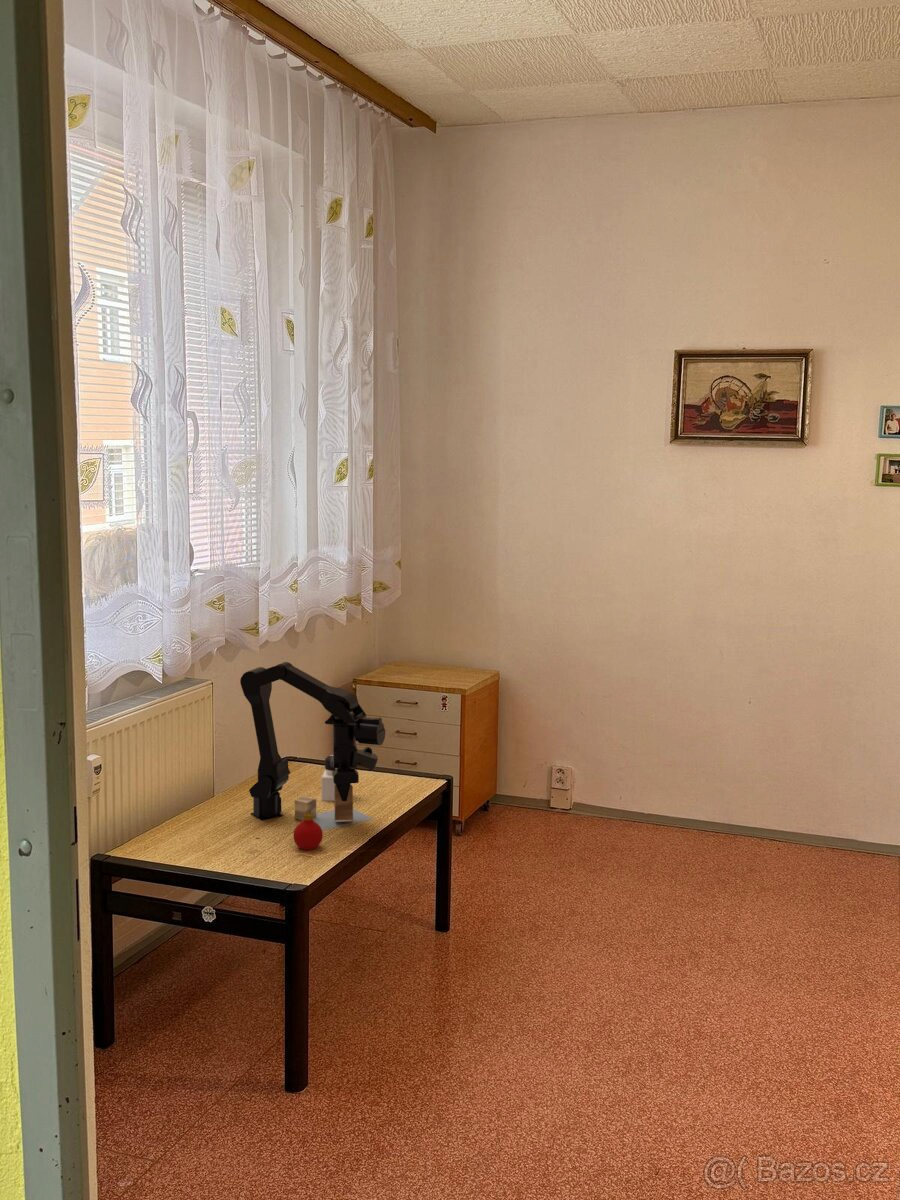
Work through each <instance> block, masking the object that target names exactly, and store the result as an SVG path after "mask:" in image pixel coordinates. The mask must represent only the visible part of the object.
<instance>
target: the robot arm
mask: <svg viewBox="0 0 900 1200" xmlns="http://www.w3.org/2000/svg"><path fill="white" fill-rule="evenodd" d="M279 680H281V681H282V682H285V683H287V684H288V685H290V686H292V687H293V688H295V689H297V690H299V691H301V692H303V693H304V694H306V695H307V696H309V697H312V698H313V699H315V700H316V701H318V702H319V703H320V704H321V706H323V708H324V710H326V711H327V712H328V713H330V716H329V718H327V720H325V721H324V724H325V725H330V726H331V725H332V755H333V756H332V757H331V767H333V768H336V770H335V771H333V772H332V775H333V782H334V784H336V787H337V789H338V792H339V794H340V796H341V799H342V801H347V797H348V793H349V788H350V785H352V784H359V783H360V782H359V780H360V779H359V778H360V777H359V775H360V774H359V772H358V770H357V768H358V767H361V768H365V769H368V770H370V771H372V772H373V771H375V768H376V765H377V763H378V760H379V758H378V755H376V753H373V749H372V747H369V746H365V747H364V748H362V749H358V748H357V744H356V742H358V744H364V745H371V746H372V745H374V746H382V745H383V743H384V741H385V738H386V728H385V725H384V723H383V721H382V720H383V719H382V717H368V716H367V715H368V714H366V712H365V710H363V708H362V706H361V705H360V703H359V701H358V696H357V695H356V694H355V693H354V692H352V691H350V690H347V689H345V688H340V687H334V686H330V685H328V684H326V683H324V682H323V681H321V680H319V679H318V678H315V677H314V676H312V675H310V674H308V673H307V672H305V671H303V670H301V669H299V668H298V667H296V666H294V665H293V664H292V663H291V662H288V661H283V662H281V663H279V664H276V665H274V666H271V667H268V668H266V667H264V666H259V667H255V668H254V669H250V670H248V671H246V672H244V673H243V674H242V676H241V677H240V681H239V682H240V686H241V687H240V688H241V689H242V692H243V693H242V694H243V695H244V697H245V699H246V700H247V702H248V703H249V705H250V707H251V712H252V718H253V719H252V720H253V723H254V730H255V736H256V741H257V745H258V753H259V762H258V767H257V781H256V782H255V783H254V784H253V785H252V786H251V787H250V788H249V790H248V791H249V793H250V794H249V795H250V798H253V800H252V801H253V803H252V804H253V808H252V809H253V812H250V815H251V816H252V817H254V818H256V819H258V820H260V821H267V820H271V819H276V818H280V817H284V814H283V813H282V797H281V792H279V791H282V789H283V787H284V785H286V783H287V782H288V781H289V779H290V778H289V777H290V776H289V775H290V774H291V770H290V767H289V760H288V759H287V758H284V759H283V758H282V757H281V755H280V754H279V749H278V745H277V737H276V733H275V726H274V722H273V714H272V709H271V703H270V699H271V694H272V690H273V688H272V686H273V684H272V683H274V682H276V681H279Z"/></svg>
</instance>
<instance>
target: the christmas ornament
mask: <svg viewBox="0 0 900 1200" xmlns="http://www.w3.org/2000/svg"><path fill="white" fill-rule="evenodd" d="M307 811H308V810H307ZM307 811H306V814H305V815H304V821H300V822H299V823H298V824H297V825H296V827H295V828H294V830H293V841H294V844H296V846H297V847H298V848H300V849H301V850H304V851H312V850H314V849H316V848H318V847H319V846H320V844H321V843H322V841H323V839H324V838H323V837H324V833H323V832H324V831H322V829H321V827H320V826H319V825H318V824H317V823H316V822H314V821H313V820H312V814H307ZM309 811H310V810H309ZM310 813H311V811H310Z"/></svg>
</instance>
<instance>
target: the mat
mask: <svg viewBox="0 0 900 1200" xmlns="http://www.w3.org/2000/svg"><path fill="white" fill-rule="evenodd" d="M373 819H374V817H370V816H369V815H367V814H365V813H362V812H360V811H358V810H356V809H354V808H353V821H347V822H335V809H332V810H327V811H323V812H318V813H316V817H315V818H313V819H312V820H313V821H314V822H316V823H317V824H318V825H319V826H320V827H321V829H322V832H324V831H325V832H326V831H328V830H332V829H336V828H340V827H345V826H348V825H350V826H351V825H353V824H357V823H363V822H366V821H370V820H373ZM300 822H303V820H300Z"/></svg>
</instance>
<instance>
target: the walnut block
mask: <svg viewBox="0 0 900 1200" xmlns="http://www.w3.org/2000/svg"><path fill="white" fill-rule="evenodd" d="M353 788H354V787H353V785H352V784H350V788H349V793H348V797H347V801H342V799H341V796H340V794H339V792H338V789H337V787H336V785H334V801H333V802H334V805H333V806H334V810H335V822H347V821H353V809H354V794H353V793H354V791H353Z"/></svg>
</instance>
